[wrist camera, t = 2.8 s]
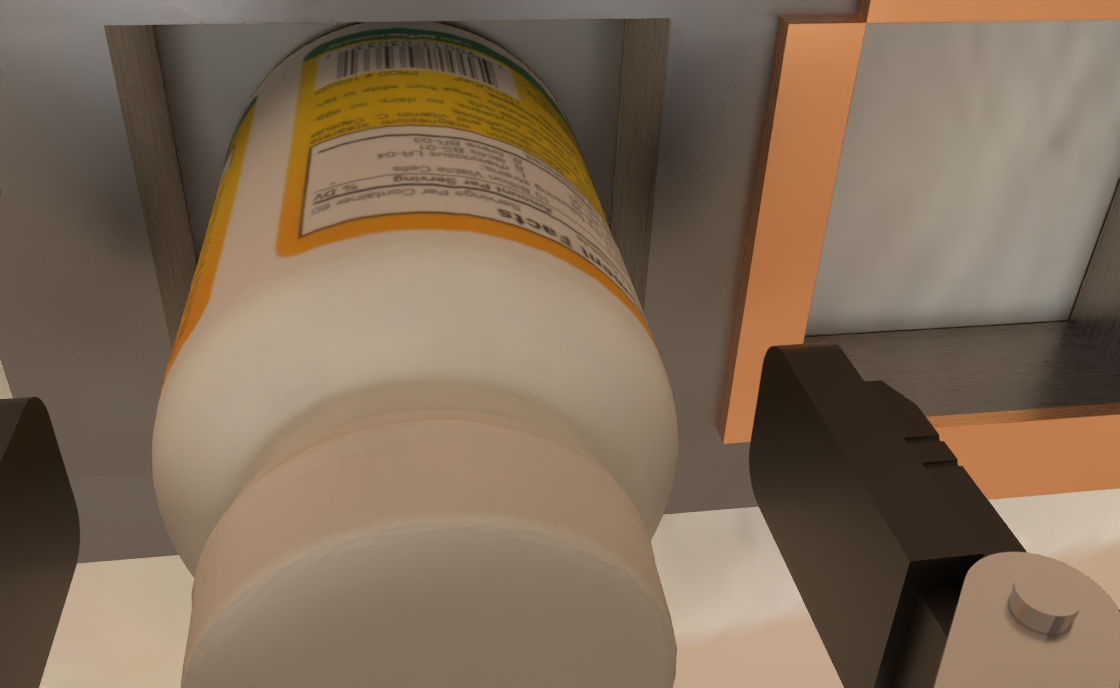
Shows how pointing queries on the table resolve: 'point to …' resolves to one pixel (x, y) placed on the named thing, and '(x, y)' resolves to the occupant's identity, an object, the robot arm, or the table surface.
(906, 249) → the table surface
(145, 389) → the tray
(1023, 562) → the robot arm
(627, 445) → the supplement bottle
